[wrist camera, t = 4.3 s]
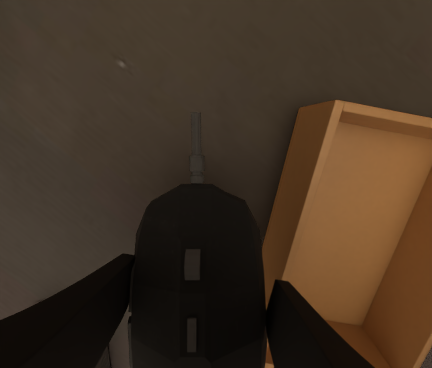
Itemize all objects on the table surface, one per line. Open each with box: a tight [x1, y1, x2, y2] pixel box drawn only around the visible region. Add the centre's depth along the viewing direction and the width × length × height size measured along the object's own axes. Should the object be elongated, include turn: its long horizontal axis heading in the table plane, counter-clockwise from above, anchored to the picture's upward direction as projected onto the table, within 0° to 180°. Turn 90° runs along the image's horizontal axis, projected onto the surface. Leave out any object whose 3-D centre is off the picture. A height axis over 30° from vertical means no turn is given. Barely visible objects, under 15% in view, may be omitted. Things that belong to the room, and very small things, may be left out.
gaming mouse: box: [128, 112, 267, 368], centre depth 9 cm, size 6×15×4 cm, turn 1°
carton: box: [262, 100, 432, 368], centre depth 17 cm, size 18×12×6 cm, turn 170°
